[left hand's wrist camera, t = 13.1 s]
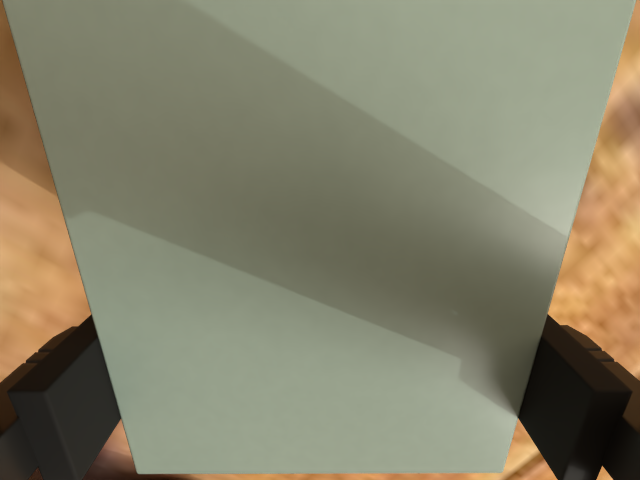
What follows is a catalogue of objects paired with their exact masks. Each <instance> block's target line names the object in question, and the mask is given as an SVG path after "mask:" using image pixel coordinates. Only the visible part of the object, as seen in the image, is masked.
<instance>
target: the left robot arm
mask: <svg viewBox="0 0 640 480" xmlns="http://www.w3.org/2000/svg"><path fill="white" fill-rule="evenodd" d="M518 418H519V420H520V421H521V423H522V424H523V426H524V428H525V429H526V431H527V432H528V434H529V435H530V437H531V439H532V440H533V442H534V443H535V445H536V446H537V448H538V450H539V451H540V453H541V454H542V456H543V457H544V459H545V460H546V462H547V464H548V465H549V467H550V468H551V470H552V471H553V473H554V475H555V476H556V478H557V479H558V480H596V479H597V477H598V474H599V472H600V469H601V467H602V466H603V467H604V468H605V470H606V471H607V472H608V473H609V475H610V476H611V477H612V478H613V480H640V381H639V380H638V379H637V378H635V377H634V376H633V375H632V374H631V373H630V372H628V371H627V370H626V369H625V368H624V367H623V366H621V365H620V364H619V363H618V362H614V359H613V358H612V357H611V356H610V355H608V354H607V353H606V352H605V351H602V349H601V348H600V347H599V346H598V345H597V344H596V343H594V342H593V341H592V340H591V339H590V338H589V337H587V336H586V335H584V334H582V333H580V332H579V331H577V330H575V329H573V328H571V327H570V326H568V325H559V324H558V323H557V322H556V321H555V320H554V319H553V318H551V317H550V316H549V315H548V314H547V317H546V321H545V325H544V328H543V332H542V335H541V339H540V342H539V346H538V349H537V353H536V356H535V360H534V363H533V367H532V370H531V374H530V378H529V381H528V385H527V388H526V392H525V395H524V399H523V402H522V406H521V409H520V413H519V416H518ZM120 419H121V416H120V412H119V409H118V405H117V402H116V398H115V395H114V391H113V388H112V384H111V381H110V377H109V374H108V370H107V367H106V363H105V360H104V356H103V353H102V349H101V346H100V342H99V339H98V335H97V332H96V328H95V325H94V321H93V318H92V315H90V316H89V317H88V318H87V319H86V320H85V321H84V322H83V323H82V324H81V325H79V326H78V327H71V328H69V329H67V330H65V331H64V332H62V333H60V334H58V335H56V336H55V337H53V338H52V339H51V340H49V341H48V342H47V343H46V344H45V345H44V346H42V347H41V348H40V349H39V350H38V352H35V353H34V354H33V355H32V356H31V357H30V358H28V359H27V360H26V363H23V364H22V365H20V366H19V367H18V368H17V369H16V370H15V371H13V372H12V373H11V374H10V375H9V376H8V377H6V378H5V379H4V380H3V381H2V382H1V383H0V480H28V479H29V477H30V476H31V475H32V474H33V472H34V471H35V470H36V469H37V467H38V468H39V470H40V473H41V475H42V478H43V480H82V479H83V477H84V476H85V474H86V473H87V471H88V469H89V468H90V466H91V465H92V463H93V462H94V460H95V458H96V457H97V455H98V454H99V452H100V451H101V449H102V447H103V446H104V444H105V443H106V441H107V440H108V438H109V437H110V435H111V433H112V432H113V430H114V429H115V427H116V426H117V424H118V422H119V421H120Z"/></svg>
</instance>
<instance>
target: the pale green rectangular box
mask: <svg viewBox="0 0 640 480" xmlns="http://www.w3.org/2000/svg"><path fill="white" fill-rule="evenodd" d="M2 2H3V5H4V9H5V12H6V16H7V19H8V23H9V26H10V30H11V33H12V37H13V40H14V44H15V47H16V51H17V54H18V58H19V61H20V65H21V68H22V72H23V75H24V79H25V82H26V86H27V89H28V93H29V96H30V100H31V103H32V107H33V110H34V114H35V117H36V121H37V124H38V128H39V132H40V135H41V139H42V142H43V146H44V149H45V153H46V156H47V160H48V163H49V167H50V170H51V174H52V177H53V181H54V184H55V188H56V191H57V195H58V198H59V202H60V205H61V209H62V212H63V216H64V219H65V223H66V226H67V230H68V233H69V237H70V240H71V244H72V247H73V251H74V254H75V258H76V261H77V265H78V268H79V272H80V275H81V279H82V282H83V286H84V290H85V293H86V297H87V300H88V304H89V307H90V311H91V314H92V318H93V321H94V325H95V328H96V332H97V335H98V339H99V342H100V346H101V349H102V353H103V356H104V360H105V363H106V367H107V370H108V374H109V377H110V381H111V384H112V388H113V391H114V395H115V398H116V402H117V405H118V409H119V412H120V416H121V419H122V423H123V426H124V430H125V433H126V437H127V440H128V444H129V448H130V451H131V455H132V458H133V462H134V465H135V469H136V472H137V473H138V474H300V473H502V472H503V470H504V466H505V462H506V459H507V455H508V452H509V448H510V445H511V441H512V438H513V434H514V431H515V427H516V424H517V420H518V416H519V413H520V409H521V406H522V402H523V399H524V395H525V392H526V388H527V385H528V381H529V378H530V374H531V370H532V367H533V363H534V360H535V356H536V353H537V349H538V346H539V342H540V339H541V335H542V332H543V328H544V325H545V321H546V317H547V314H548V310H549V307H550V303H551V300H552V296H553V293H554V289H555V286H556V282H557V279H558V275H559V271H560V268H561V264H562V261H563V257H564V254H565V250H566V247H567V243H568V240H569V236H570V233H571V229H572V225H573V222H574V218H575V215H576V211H577V208H578V204H579V201H580V197H581V194H582V190H583V187H584V183H585V179H586V176H587V172H588V169H589V165H590V162H591V158H592V155H593V151H594V148H595V144H596V141H597V137H598V133H599V130H600V126H601V123H602V119H603V116H604V112H605V109H606V105H607V102H608V98H609V95H610V91H611V87H612V84H613V80H614V77H615V73H616V70H617V66H618V63H619V59H620V56H621V52H622V49H623V45H624V41H625V38H626V34H627V31H628V27H629V24H630V20H631V17H632V13H633V10H634V6H635V3H636V0H2Z"/></svg>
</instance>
